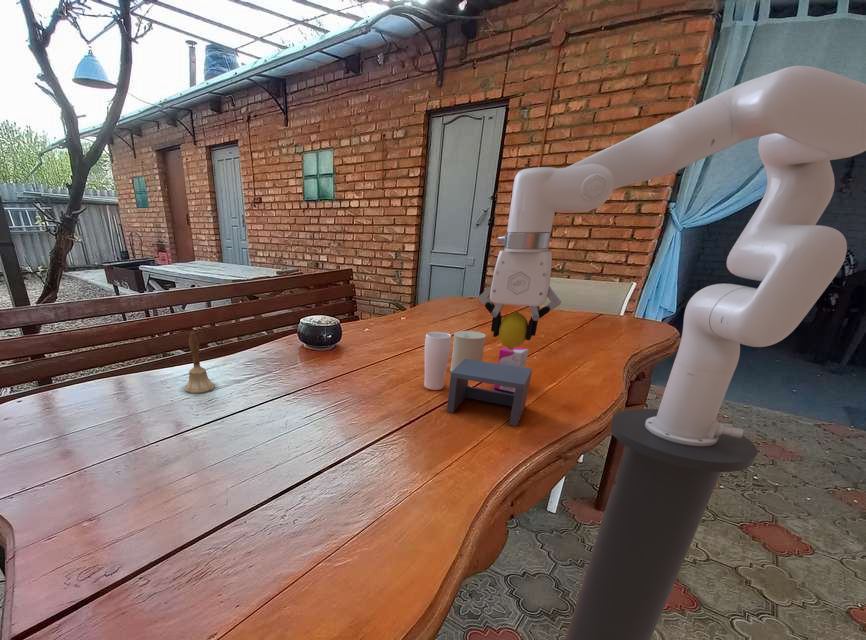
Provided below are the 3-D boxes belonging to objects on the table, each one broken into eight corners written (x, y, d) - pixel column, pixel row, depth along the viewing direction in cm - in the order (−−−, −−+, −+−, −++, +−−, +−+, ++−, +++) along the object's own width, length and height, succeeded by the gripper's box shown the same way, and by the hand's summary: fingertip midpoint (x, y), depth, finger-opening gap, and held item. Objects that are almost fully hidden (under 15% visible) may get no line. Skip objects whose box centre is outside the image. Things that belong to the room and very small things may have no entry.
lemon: (519, 346, 90) (525, 308, 87) (528, 354, 85) (535, 314, 82) (492, 346, 91) (498, 308, 87) (500, 353, 85) (506, 314, 82)
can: (444, 371, 130) (448, 333, 125) (458, 364, 136) (462, 327, 132) (473, 378, 124) (478, 338, 120) (486, 370, 131) (491, 332, 126)
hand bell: (218, 382, 124) (211, 328, 117) (209, 393, 116) (202, 336, 110) (190, 382, 124) (181, 328, 118) (180, 393, 116) (170, 336, 110)
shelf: (524, 407, 105) (532, 368, 101) (516, 426, 96) (524, 384, 92) (460, 395, 113) (464, 358, 109) (446, 411, 103) (450, 372, 99)
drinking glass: (416, 388, 118) (420, 335, 112) (428, 381, 123) (432, 330, 117) (439, 393, 114) (444, 339, 108) (450, 386, 119) (456, 334, 113)
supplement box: (522, 388, 117) (529, 348, 112) (514, 394, 113) (521, 353, 108) (501, 383, 120) (507, 344, 116) (493, 389, 116) (499, 349, 112)
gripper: (475, 243, 81) (465, 336, 88) (578, 244, 72) (557, 347, 80) (483, 241, 86) (473, 328, 94) (579, 242, 78) (560, 337, 86)
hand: (512, 336), depth 87 cm, fingers closed on lemon, 5 cm apart
